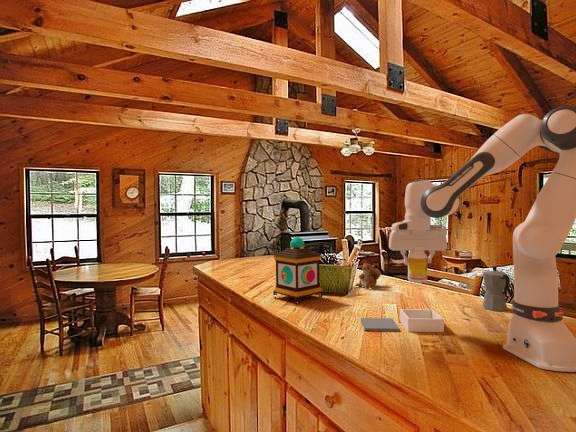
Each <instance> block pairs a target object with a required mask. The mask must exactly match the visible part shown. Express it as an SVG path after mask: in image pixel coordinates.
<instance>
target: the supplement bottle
mask: <svg viewBox="0 0 576 432" xmlns="http://www.w3.org/2000/svg"><path fill="white" fill-rule="evenodd" d="M410 251H411V252H409V253H408V255H407V258H409V263H407V280H408V281H409V282H412V283H421V284H422V283H426V282H427V281H428V263H427V258H428V255H427V254H426V252H425V250H423V247H415V250H410Z"/></svg>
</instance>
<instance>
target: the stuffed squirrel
mask: <svg viewBox="0 0 576 432" xmlns="http://www.w3.org/2000/svg"><path fill="white" fill-rule="evenodd" d="M374 267H375V265H374V264H370V263H363V266H362V268H361V269H360V272H362V273H361V274H359V275H358V278H359V282H358V283H356V284H354V287H355V286H363V287H362V288H364V287H367V288H366V289H368V288H373V289H375V288H374V287H376V285H377V282H378V280H379V278H380V277H382V272H381V271H380V270H379V269H378V268H374Z"/></svg>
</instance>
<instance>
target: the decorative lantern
mask: <svg viewBox="0 0 576 432" xmlns="http://www.w3.org/2000/svg"><path fill="white" fill-rule="evenodd" d="M273 258H274V261H275V287H274V289H273V293H272V294H273V295H277V296H278V295H282V296H286V297H290V298H294V302H295V303H296V302H300V299H301V298H305V297H308V296H309V297H310V296H312V295H314V296H315V295H318V297H322V298H323V294H324V293H323V290H322V288H321V286H320V261H321V258H322V255H321V254H320V253H318V251H313V250H312V249H310V248H309V247H308V246H305V241H304V240H303V238H301V237H299V236H295V237H293V238H292V239H291V241H290V243H289V246H288V245H287V247H286V248H285V249H283V250H282V251H278V252H277V253H275V254H274V255H273ZM273 295H272V296H273Z"/></svg>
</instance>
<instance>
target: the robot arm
mask: <svg viewBox="0 0 576 432" xmlns="http://www.w3.org/2000/svg"><path fill="white" fill-rule="evenodd" d="M535 147H538V148H540V149H543V150H546V151H548V152H550V153H553V154H556V155H559V158H558V161H557V163H556V165H555V166H554V168H553V170H552V171H551V173H550V174H549V176H548V178H547V179H546V180H545V181H546V182H545V183H544V184H543V186H542V188H541V189H540V191H539V193H538V195H537V196H536V199H535V200H534V202H533V205H532V206H531V208H530V210H529V212H528V214H527V216H526V218H525V220H524V221H523V222H521V223H519V224H518V225H517V226H516V227H515V229H514V231H513V234H512V255H513V257H512V258H513V259H512V260H513V274H514V275H513V277H514V278H513V285H514V286H513V288H514V289H513V293H514V294H513V300H512V305H511V308H512V309H511V310H512V313H513V315H512V317H511V319H510V320H509V321H508V323H507V324H508V325H507V333H506V343H503V344H502V349H503V350H505V351H506V352H509V353H510V354H512V355H514V356H516V357H518V358H520V359H521V360H523V361H526V362H527V363H529V364H531V365H533V366H535V367H536V368H539V369H543V370H547V371H556V372H569V373H570V372H571V373H574V372H576V337H575V336H574V335H573V333H572V332H571V331H570V330H569V328H568V327H567V325H566V324H565V322H564V321H563V319H564V318H563V317H565V315H563V314H565V312H563V311H562V310H561V306H560V305H559V276H558V270H557V269H558V268H557V260H556V255H557V254H559V253H560V252H561V250H562V248H563V245H564V244H565V243H566V240H567V238H568V237H569V234H570V232H571V230H572V228H573V226H574V224H575V221H576V106H573V105H561V106H558V107H555V108H553V109H551V110H549V111H548V112H547V113H546V114H545V115H544V117H543V119H540V118H538V117H537V116H535V115H533V114H530V113H529V114H528V113H522V114H518V115H517V116H516V117H514V118H512V119H510V121H508V122H506V123H505V124H504V125H502V126H501V127H500V128H499V129H497V131H495V132H494V133H493V134H492V135H491V136H490V137H489V138H487V139H486V141H485V142H483V144H482V145H481V146H480V147H479V148H478V150H477V151H476V152H475V153H474V154H473V156H472V157H471V158H470V159H469V160H468V161H467V162H466V163H465V164H464V165H462V166H461V168H459V170H457V171H455V172H454V174H452V175H451V176H450V177H449V178H448V179H446V180H445V181H444V182H442V183H441V184H438V185H436V184H434V183H432V182H431V181H429V180H428V179H418V180H415V181H414V180H413V181H411V182H409V183H408V184H407V185H406V187H405V190H404V191H405V193H404V195H405V196H404V207H405V214H404V220H401V221H398V222H395V223H392V224H391V229H392V230H391V231H390V232H389V237H388V249H389V250H391V251H400V254H401V256H402V257H403V263H405V264H408V263H409V258H408V257H407V256H406V254H407V251H412V250H415V247H423V250H424V251H428V252H429V254H428V255H429V256H427V264H432V262H433V260H432V258H433V257H434V255H435V253H436V251H446V250H447V249H448V240H447V235H448V229H447V227H445V226H444V225H443V224H431V218H433V219H439V218H443V217H446V216H450V215H452V214H454V213H455V212H456V211H457V210H458V209H459V207H460V198H459V197H460V196H461V195H463V193H465V192H466V191H467V190H468V189H469V188H470V187H472V186H473V185H474V184H476V182H478V181H480V180H481V179H482V178H485V177H487V176H490V175H493V174H496V173H500V172H503V171H504V170H506V169H507V168H509V167H511V166H512V165H513V164H515V163H516V162H517V161H519V160H520V159H521V158H522V157H523V156H524V155H525V154H526V153H528V152H529V151H530V150H532V149H533V148H535Z"/></svg>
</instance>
